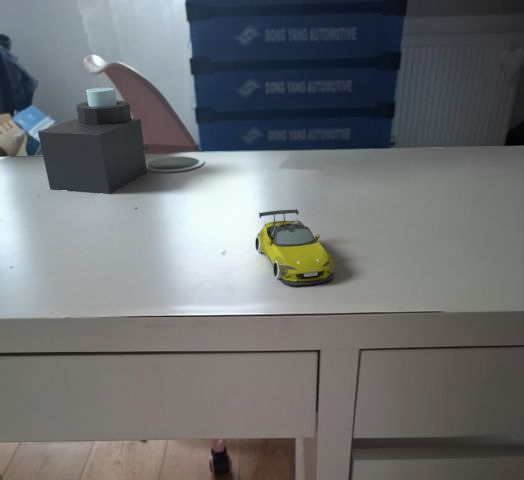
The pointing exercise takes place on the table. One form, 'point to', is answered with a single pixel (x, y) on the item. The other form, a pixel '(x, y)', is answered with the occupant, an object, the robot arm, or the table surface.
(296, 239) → the sports car
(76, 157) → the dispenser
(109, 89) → the pale turquoise short cylinder
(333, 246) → the table surface
